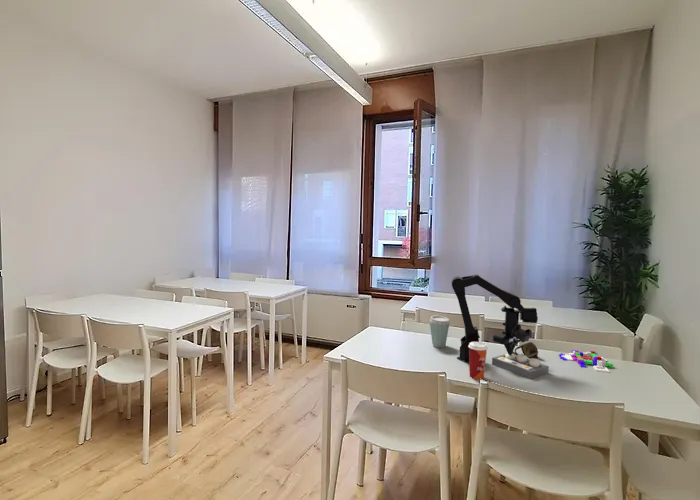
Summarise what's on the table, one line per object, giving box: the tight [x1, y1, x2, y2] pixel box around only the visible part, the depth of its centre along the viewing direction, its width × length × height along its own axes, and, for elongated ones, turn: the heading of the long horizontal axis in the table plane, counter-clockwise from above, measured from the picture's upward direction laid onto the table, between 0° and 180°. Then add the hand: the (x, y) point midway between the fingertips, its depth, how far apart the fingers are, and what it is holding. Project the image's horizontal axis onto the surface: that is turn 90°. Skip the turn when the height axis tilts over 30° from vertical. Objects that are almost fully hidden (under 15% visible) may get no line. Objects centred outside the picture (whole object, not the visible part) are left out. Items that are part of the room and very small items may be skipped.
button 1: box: [504, 352, 515, 360], centre depth 180 cm, size 4×4×3 cm
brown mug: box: [512, 341, 539, 359], centre depth 190 cm, size 7×13×10 cm
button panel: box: [491, 354, 550, 380], centre depth 175 cm, size 13×19×3 cm
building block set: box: [558, 349, 614, 373], centre depth 186 cm, size 25×20×4 cm
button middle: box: [517, 353, 528, 364], centre depth 175 cm, size 4×4×3 cm
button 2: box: [529, 357, 541, 368], centre depth 170 cm, size 4×4×3 cm
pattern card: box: [497, 357, 532, 370], centre depth 172 cm, size 4×15×1 cm, turn 32°
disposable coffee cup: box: [428, 315, 451, 348], centre depth 203 cm, size 11×11×15 cm
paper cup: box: [468, 341, 488, 380], centre depth 164 cm, size 8×8×14 cm
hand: (510, 354), depth 180 cm, fingers closed, pressing on button 1
